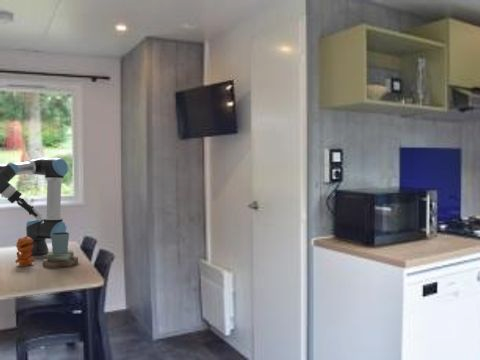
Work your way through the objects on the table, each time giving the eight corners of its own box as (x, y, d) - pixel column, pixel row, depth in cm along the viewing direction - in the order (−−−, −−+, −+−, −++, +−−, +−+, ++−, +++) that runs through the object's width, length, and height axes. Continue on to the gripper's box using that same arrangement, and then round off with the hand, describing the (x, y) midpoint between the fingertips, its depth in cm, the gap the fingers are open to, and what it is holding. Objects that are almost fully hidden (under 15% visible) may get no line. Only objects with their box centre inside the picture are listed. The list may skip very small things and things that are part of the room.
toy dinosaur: (27, 267, 266) (26, 237, 265) (11, 266, 268) (10, 236, 267) (39, 263, 277) (38, 234, 276) (23, 262, 279) (23, 233, 278)
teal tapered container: (47, 253, 271) (47, 233, 271) (60, 250, 281) (59, 231, 280) (60, 255, 268) (60, 235, 267) (72, 251, 277) (72, 232, 276)
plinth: (54, 259, 286) (54, 249, 285) (84, 261, 283) (84, 250, 283) (36, 267, 266) (35, 255, 266) (67, 268, 263) (67, 257, 263)
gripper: (6, 197, 270) (35, 220, 278) (6, 201, 248) (37, 226, 256) (16, 187, 272) (44, 211, 280) (17, 191, 250) (47, 216, 258)
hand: (40, 218), depth 268 cm, fingers open, 13 cm apart
